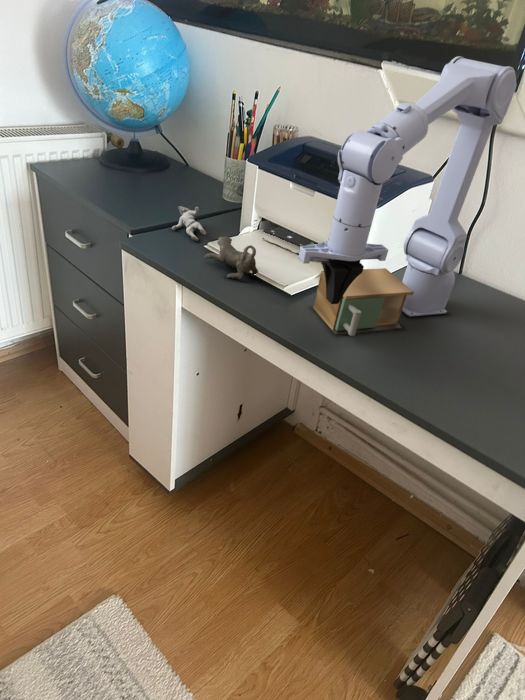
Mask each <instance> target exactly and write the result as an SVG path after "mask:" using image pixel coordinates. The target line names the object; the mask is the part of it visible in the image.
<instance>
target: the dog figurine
mask: <svg viewBox="0 0 525 700" xmlns="http://www.w3.org/2000/svg"><path fill="white" fill-rule="evenodd" d="M217 238H218V240H217V241H216V244H217V245H219V253H216V252H215V253H214V252H207V253H206V254H205V255H203V257H204V258H205V259H215V260H217V261H218V262H220V263H224V264H226V265H228V266H229V267H231V268H232V269H233V270H235V269H236V271H237V272H230V273H228V274H227V275H226V276H225V277H226V278H227V279H238V280H241V279H242V278H243V277H244V274H246V275H249V274H250V276H251V277H253V278H254V277H256V276H257V274H258V273H259V270H258V268H257V265H256V264H257V262H256V258H255V257H256V255H257V249H256V247H255V246H254V245H251V244H250V245H246V247H244V249H243V251H239V250H237V248H235V247H234V246H233V245H232V240H233V239H232V238H231V237H229V236H219V237H217ZM249 249H251V250H252V252H251V253H250V252H248V250H249ZM250 272H252V273H250ZM256 273H257V274H256ZM254 274H256V275H254Z"/></svg>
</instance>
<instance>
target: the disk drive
mask: <svg viewBox="0 0 525 700" xmlns="http://www.w3.org/2000/svg"><path fill="white" fill-rule="evenodd" d="M272 228H273V227H266V228H264V229H263V231H262V233H263V232H265V233H267V234H270V235H273V236H276V237H278V238H280V239H282V240H285V241H287V242H290V243H292V244H295V245H297V246H299V247H300V246H309V245H313V244H314V243H313V242H311V241H309V240H307V239H304V238H302V237H300V236H298V235H296V234H294V233H291V232H289V231H288V230H285V229H283V228H280V227H277V228H275V229H272Z"/></svg>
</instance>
